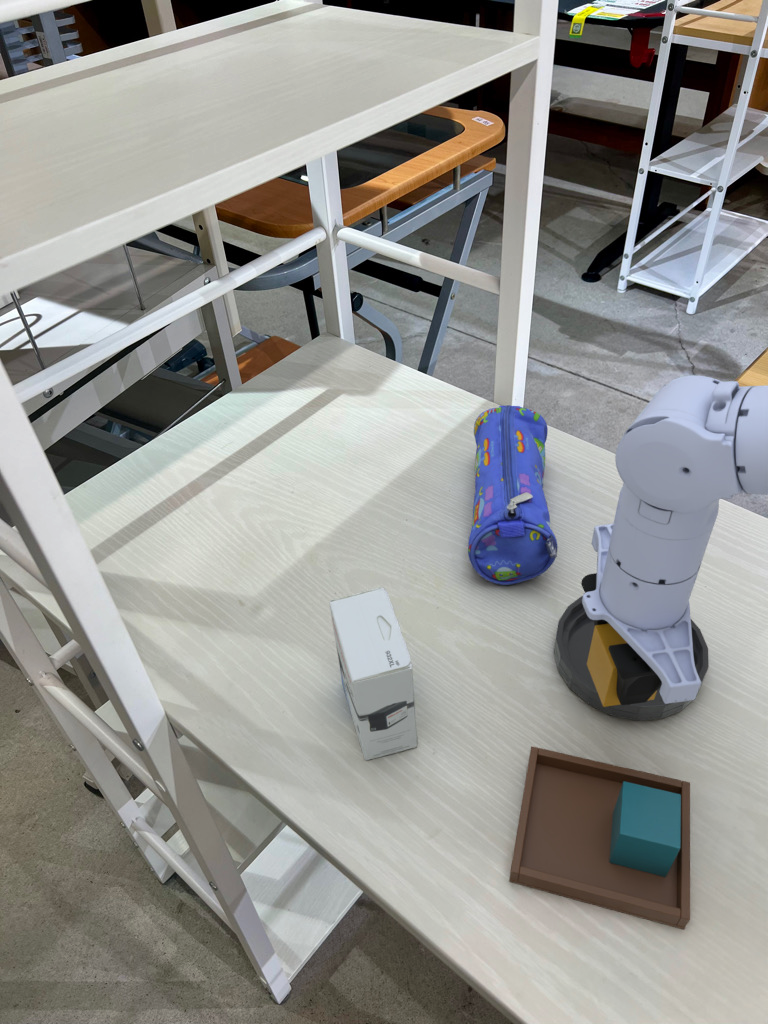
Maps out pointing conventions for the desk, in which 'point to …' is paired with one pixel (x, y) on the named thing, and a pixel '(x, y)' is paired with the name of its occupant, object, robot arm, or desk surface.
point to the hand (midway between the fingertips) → (621, 673)
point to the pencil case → (510, 497)
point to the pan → (574, 670)
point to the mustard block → (605, 664)
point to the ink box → (375, 672)
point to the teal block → (646, 829)
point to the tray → (593, 839)
